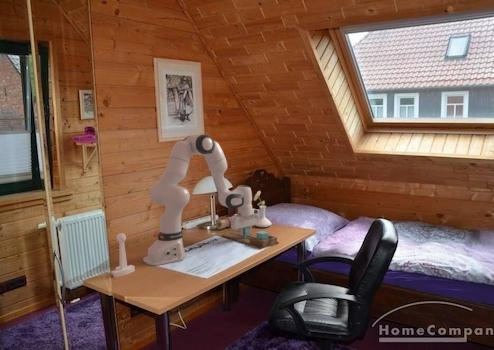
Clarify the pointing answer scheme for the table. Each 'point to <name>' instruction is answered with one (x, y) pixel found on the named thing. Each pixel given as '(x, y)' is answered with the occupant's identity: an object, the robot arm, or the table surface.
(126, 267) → the joystick
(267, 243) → the lane board
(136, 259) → the table surface
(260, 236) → the block with cord
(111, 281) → the table surface
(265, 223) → the flower in vase
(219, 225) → the scroll
